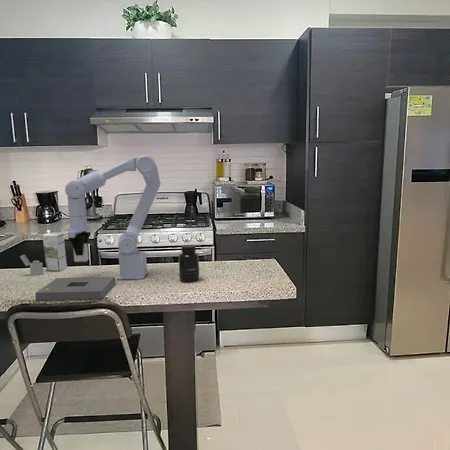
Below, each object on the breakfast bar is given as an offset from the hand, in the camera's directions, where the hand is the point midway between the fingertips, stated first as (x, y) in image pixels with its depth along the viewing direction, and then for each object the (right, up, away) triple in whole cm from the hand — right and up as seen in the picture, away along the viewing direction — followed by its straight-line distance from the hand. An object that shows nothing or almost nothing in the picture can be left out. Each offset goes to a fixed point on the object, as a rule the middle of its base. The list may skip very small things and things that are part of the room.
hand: (81, 254), depth 138 cm
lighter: (-22, -9, +10) cm, 25 cm away
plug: (0, -2, 0) cm, 2 cm away
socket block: (+3, -11, -11) cm, 16 cm away
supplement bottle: (+38, -9, -2) cm, 39 cm away
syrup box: (-16, -7, +17) cm, 24 cm away
